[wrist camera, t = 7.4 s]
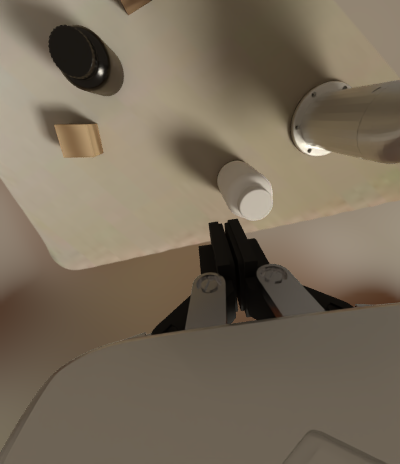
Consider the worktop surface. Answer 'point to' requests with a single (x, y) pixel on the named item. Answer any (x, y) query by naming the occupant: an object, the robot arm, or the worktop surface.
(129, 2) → the walnut block
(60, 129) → the maple block
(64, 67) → the supplement bottle
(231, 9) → the worktop surface
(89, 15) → the worktop surface
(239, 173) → the pill bottle
